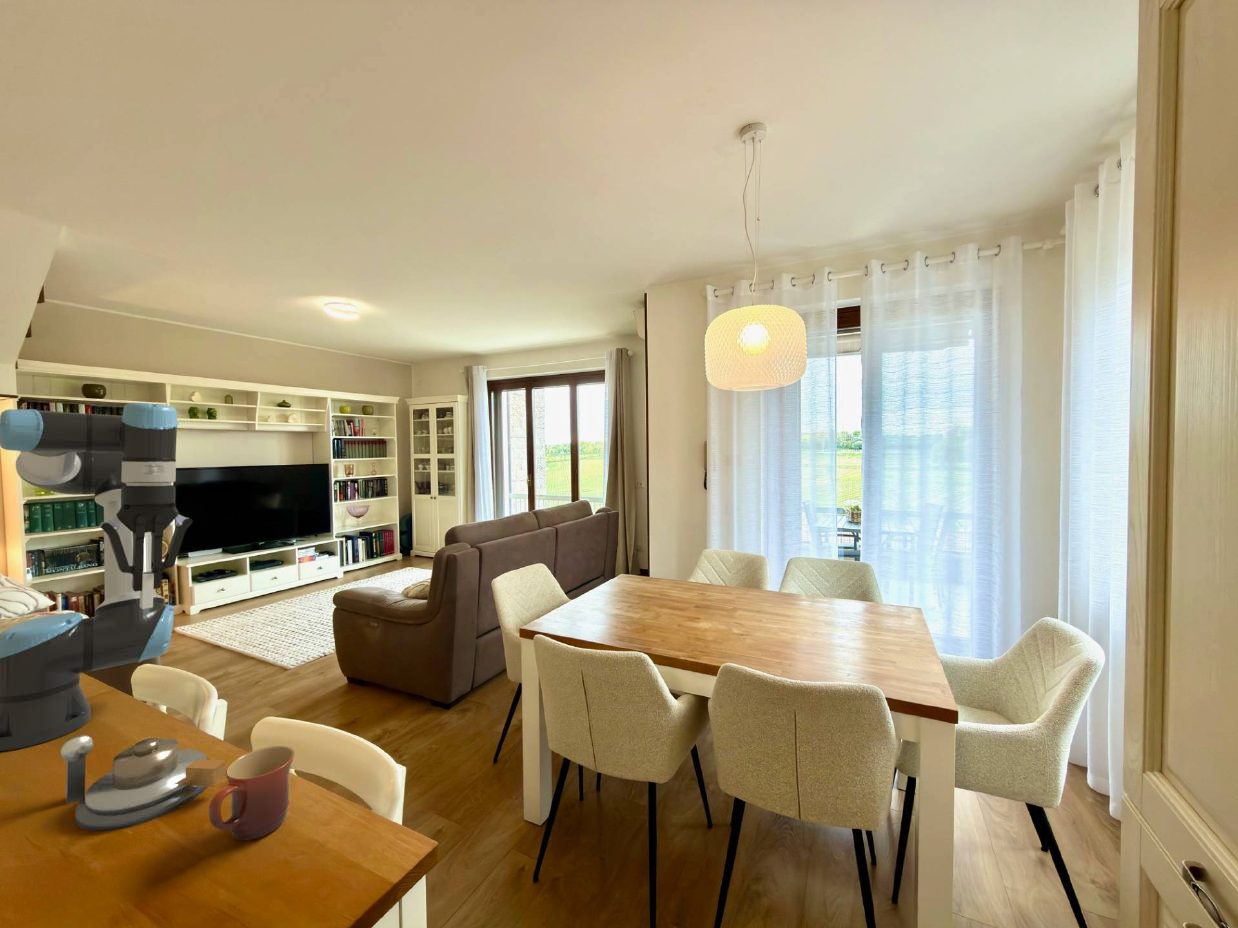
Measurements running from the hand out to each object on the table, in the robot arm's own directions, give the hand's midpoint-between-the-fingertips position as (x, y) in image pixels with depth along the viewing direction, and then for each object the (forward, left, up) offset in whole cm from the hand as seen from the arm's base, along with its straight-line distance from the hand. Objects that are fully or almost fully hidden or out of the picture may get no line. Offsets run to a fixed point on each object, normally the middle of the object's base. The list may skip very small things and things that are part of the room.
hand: (146, 606), depth 93 cm
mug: (+38, +7, -30) cm, 49 cm away
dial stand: (+6, -9, -29) cm, 31 cm away
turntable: (+16, 0, -28) cm, 32 cm away
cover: (+13, -1, -26) cm, 29 cm away
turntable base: (+14, -1, -29) cm, 33 cm away
